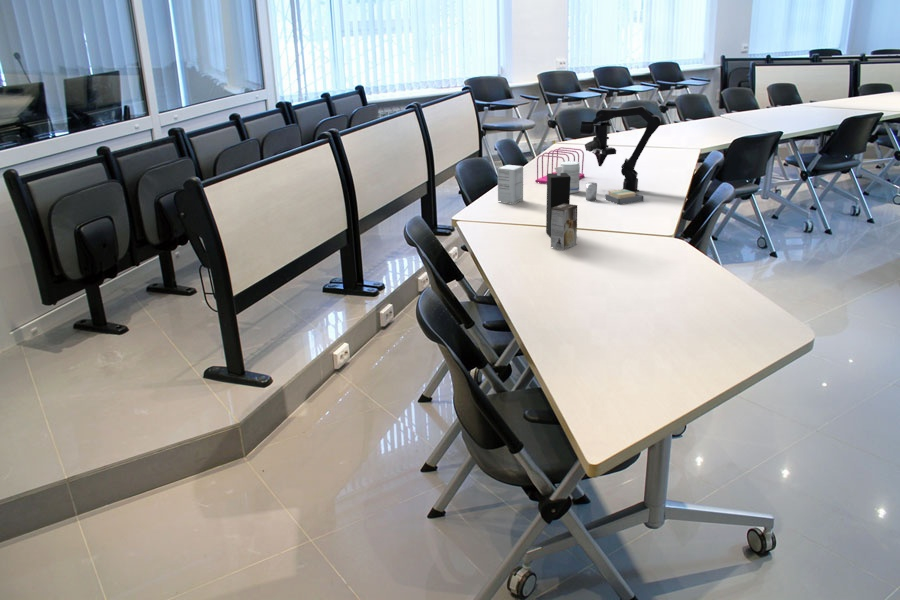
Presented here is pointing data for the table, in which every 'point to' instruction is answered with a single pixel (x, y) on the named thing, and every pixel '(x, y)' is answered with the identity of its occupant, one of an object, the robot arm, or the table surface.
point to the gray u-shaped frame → (624, 199)
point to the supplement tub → (572, 174)
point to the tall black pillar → (556, 193)
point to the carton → (621, 193)
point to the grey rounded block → (591, 191)
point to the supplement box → (510, 184)
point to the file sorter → (544, 179)
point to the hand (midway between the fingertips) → (600, 166)
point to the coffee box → (564, 226)
